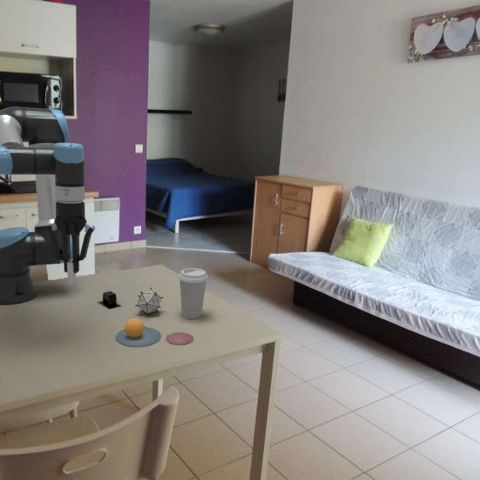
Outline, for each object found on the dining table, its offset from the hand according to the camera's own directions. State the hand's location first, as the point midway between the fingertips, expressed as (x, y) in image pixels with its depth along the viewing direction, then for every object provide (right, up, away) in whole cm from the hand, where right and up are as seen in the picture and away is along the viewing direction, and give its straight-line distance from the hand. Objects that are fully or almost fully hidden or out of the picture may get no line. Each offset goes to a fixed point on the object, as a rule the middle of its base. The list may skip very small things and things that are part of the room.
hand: (72, 283), depth 135 cm
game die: (+18, -12, +22) cm, 30 cm away
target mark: (+18, -16, +4) cm, 24 cm away
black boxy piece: (+3, -10, +27) cm, 29 cm away
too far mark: (+30, -17, +5) cm, 35 cm away
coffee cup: (+32, -13, +22) cm, 41 cm away
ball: (+17, -13, +3) cm, 22 cm away
